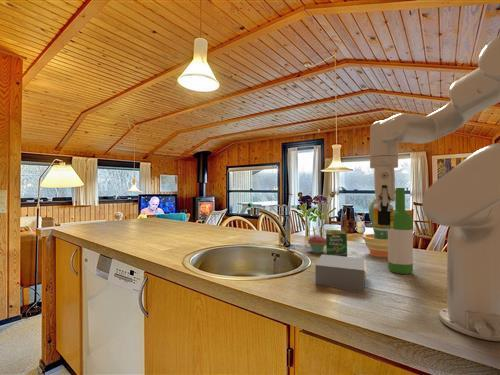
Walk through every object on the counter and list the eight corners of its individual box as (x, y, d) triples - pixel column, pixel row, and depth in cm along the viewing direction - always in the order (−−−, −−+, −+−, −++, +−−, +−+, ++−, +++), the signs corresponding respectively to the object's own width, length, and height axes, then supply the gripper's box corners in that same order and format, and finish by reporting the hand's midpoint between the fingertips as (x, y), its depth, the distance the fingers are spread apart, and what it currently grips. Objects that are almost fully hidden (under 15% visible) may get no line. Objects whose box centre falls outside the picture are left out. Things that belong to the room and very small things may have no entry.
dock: (365, 291, 77) (365, 270, 77) (315, 284, 83) (315, 264, 83) (365, 276, 90) (365, 258, 90) (321, 271, 96) (321, 254, 96)
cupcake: (307, 253, 122) (307, 227, 122) (308, 248, 130) (308, 224, 130) (326, 254, 119) (326, 227, 119) (327, 250, 127) (326, 225, 127)
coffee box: (325, 262, 107) (325, 229, 107) (326, 260, 109) (326, 228, 109) (346, 265, 103) (346, 231, 103) (347, 263, 106) (347, 230, 105)
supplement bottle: (379, 227, 83) (380, 197, 83) (397, 230, 79) (397, 197, 78) (369, 229, 80) (369, 197, 80) (386, 231, 76) (387, 198, 76)
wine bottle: (413, 276, 89) (412, 187, 89) (387, 272, 93) (387, 187, 93) (412, 270, 96) (412, 187, 96) (388, 266, 100) (388, 187, 100)
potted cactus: (354, 253, 121) (354, 198, 121) (374, 248, 129) (374, 197, 129) (388, 261, 108) (387, 199, 108) (407, 255, 117) (407, 198, 117)
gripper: (401, 160, 70) (401, 228, 70) (395, 164, 85) (394, 220, 86) (370, 161, 73) (369, 226, 73) (369, 165, 88) (369, 219, 89)
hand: (383, 222), depth 79 cm, fingers closed on supplement bottle, 5 cm apart
